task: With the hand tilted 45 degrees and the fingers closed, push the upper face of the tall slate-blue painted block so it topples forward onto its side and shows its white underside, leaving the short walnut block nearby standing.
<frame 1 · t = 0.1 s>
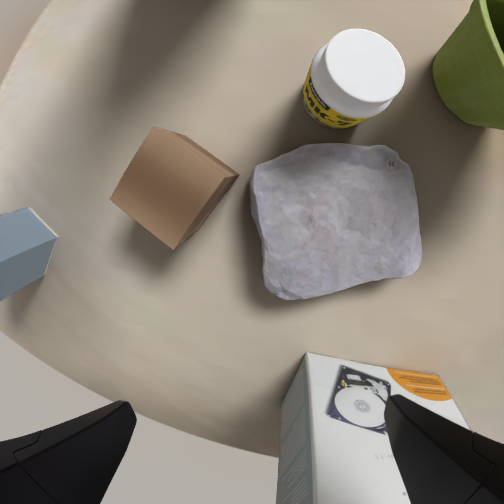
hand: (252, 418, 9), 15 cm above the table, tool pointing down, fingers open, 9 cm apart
slate block: (36, 241, 24), on the table
plant pot: (462, 84, 17), on the table
stone block: (332, 209, 22), on the table
walnut block: (192, 182, 21), on the table
supplement bottle: (334, 99, 19), on the table
hard drive box: (363, 391, 26), on the table
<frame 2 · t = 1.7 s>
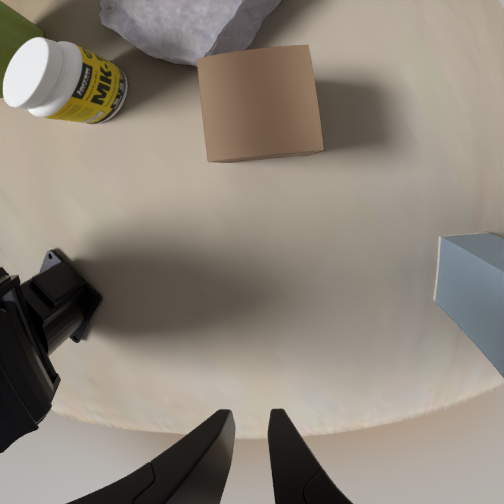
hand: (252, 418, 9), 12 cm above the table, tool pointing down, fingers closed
slate block: (462, 265, 19), on the table
plant pot: (23, 62, 17), on the table
stone block: (189, 8, 16), on the table
walnut block: (264, 119, 17), on the table
supplement bottle: (103, 94, 18), on the table
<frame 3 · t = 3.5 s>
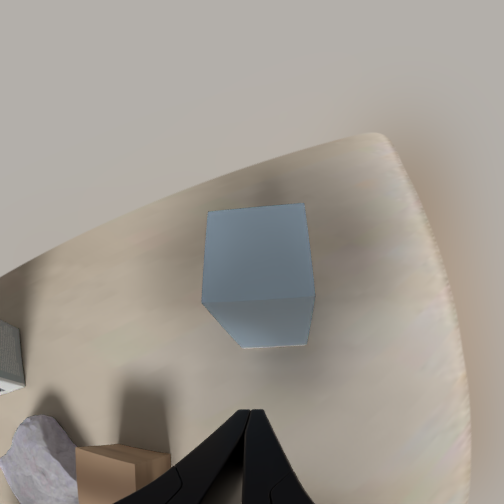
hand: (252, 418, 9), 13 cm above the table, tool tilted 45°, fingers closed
slate block: (273, 316, 24), on the table
stone block: (59, 478, 18), on the table
walnut block: (144, 475, 18), on the table
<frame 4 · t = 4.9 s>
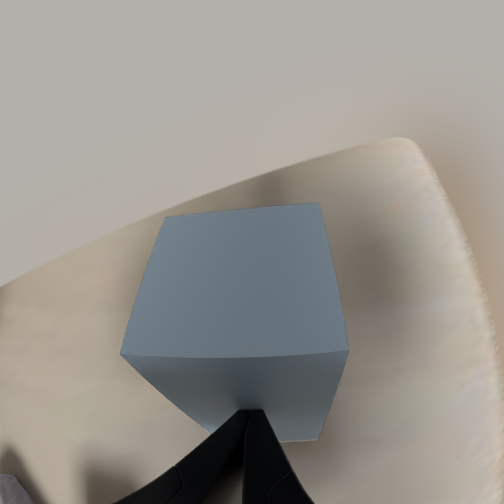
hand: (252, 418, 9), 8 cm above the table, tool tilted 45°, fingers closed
slate block: (270, 401, 15), point 1 cm above the table, tilted 17°
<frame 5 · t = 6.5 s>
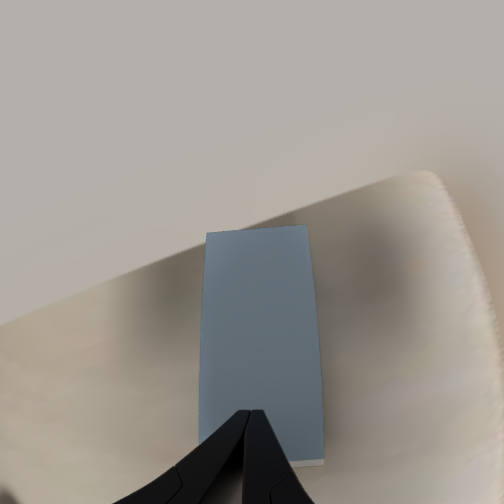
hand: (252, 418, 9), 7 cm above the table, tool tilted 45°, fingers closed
slate block: (266, 457, 12), point 2 cm above the table, tilted 90°
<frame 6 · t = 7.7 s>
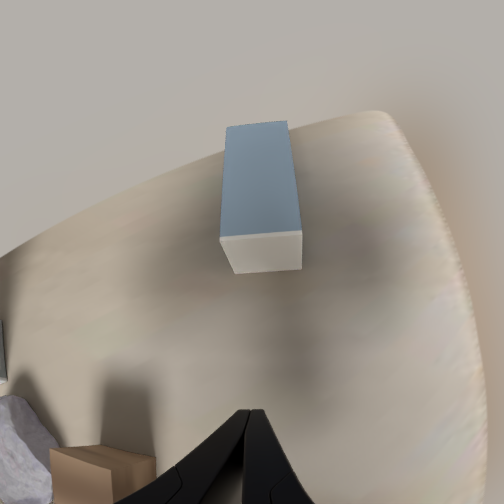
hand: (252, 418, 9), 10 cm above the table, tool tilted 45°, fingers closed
slate block: (264, 256, 20), point 2 cm above the table, tilted 90°
stone block: (31, 464, 16), on the table
walnut block: (127, 479, 16), on the table
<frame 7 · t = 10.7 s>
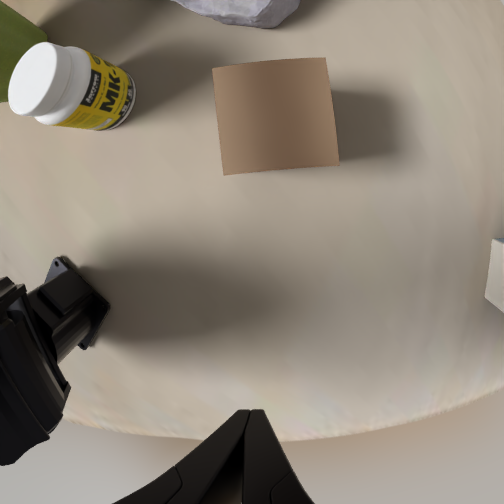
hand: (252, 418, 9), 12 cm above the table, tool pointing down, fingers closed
plant pot: (26, 66, 17), on the table
walnut block: (276, 129, 17), on the table
supplement bottle: (110, 99, 18), on the table
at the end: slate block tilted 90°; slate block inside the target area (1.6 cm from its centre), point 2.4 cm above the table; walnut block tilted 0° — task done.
